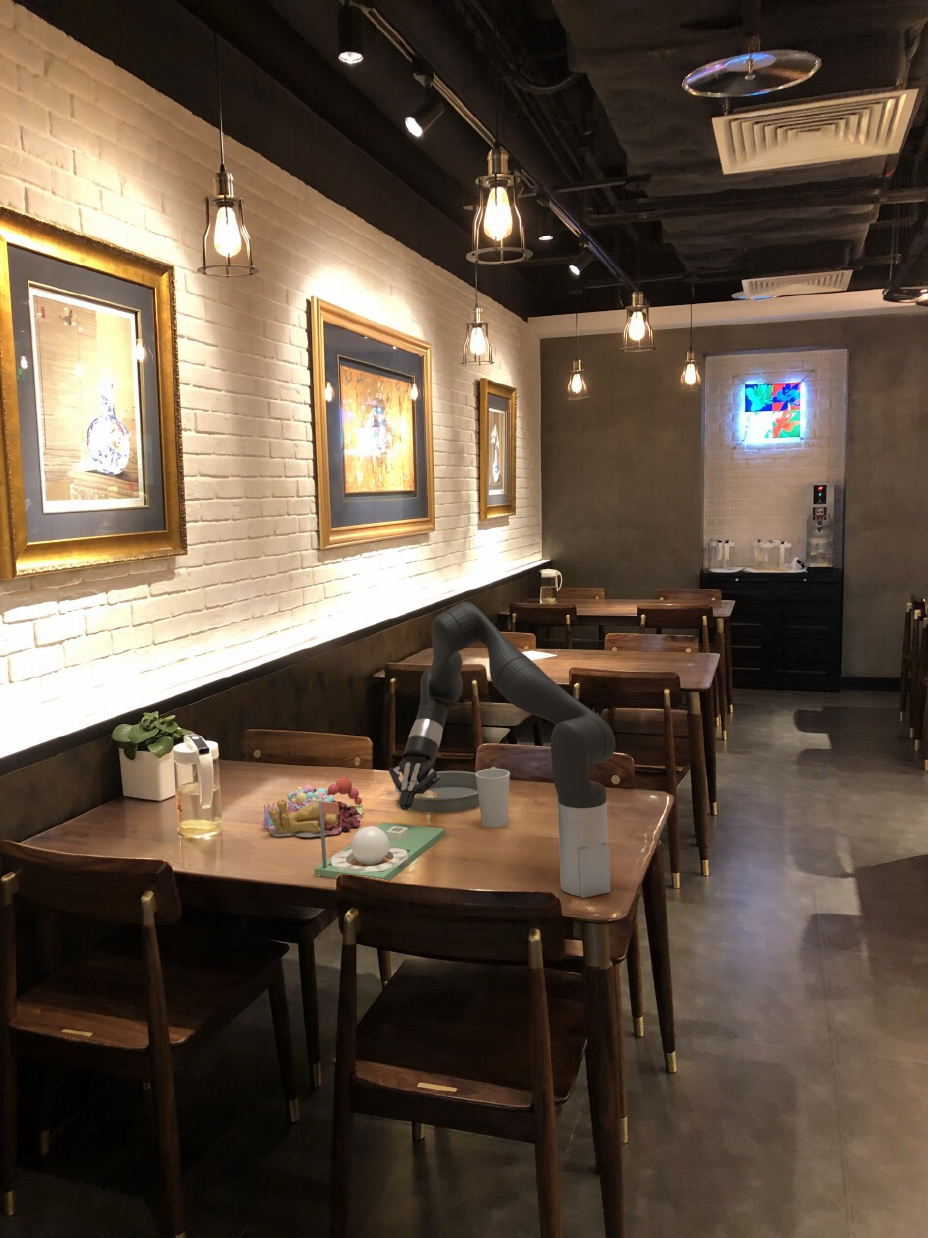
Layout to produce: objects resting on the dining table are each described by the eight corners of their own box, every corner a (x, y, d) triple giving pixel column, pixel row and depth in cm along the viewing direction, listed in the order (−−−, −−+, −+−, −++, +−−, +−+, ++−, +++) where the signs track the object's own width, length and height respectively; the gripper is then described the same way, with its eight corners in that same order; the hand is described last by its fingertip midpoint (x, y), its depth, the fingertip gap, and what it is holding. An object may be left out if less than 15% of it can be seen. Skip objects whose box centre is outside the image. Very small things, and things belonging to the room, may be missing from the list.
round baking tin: (449, 781, 260) (448, 765, 259) (512, 799, 241) (511, 782, 241) (376, 802, 244) (375, 785, 243) (438, 823, 225) (437, 804, 225)
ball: (394, 833, 197) (394, 867, 199) (381, 816, 204) (382, 850, 206) (357, 840, 193) (358, 875, 196) (345, 823, 201) (347, 857, 203)
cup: (508, 829, 218) (506, 778, 216) (474, 828, 220) (472, 778, 218) (513, 818, 226) (512, 768, 224) (481, 817, 227) (479, 768, 226)
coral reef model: (360, 838, 217) (358, 799, 216) (257, 844, 216) (254, 805, 215) (365, 804, 242) (363, 769, 241) (272, 810, 241) (270, 774, 240)
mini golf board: (383, 828, 222) (379, 764, 220) (445, 835, 216) (442, 768, 214) (314, 876, 195) (310, 802, 193) (383, 885, 188) (379, 809, 187)
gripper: (454, 752, 226) (435, 818, 216) (404, 748, 231) (383, 813, 221) (444, 735, 220) (424, 803, 211) (393, 732, 225) (371, 797, 216)
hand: (403, 808), depth 216 cm, fingers closed
